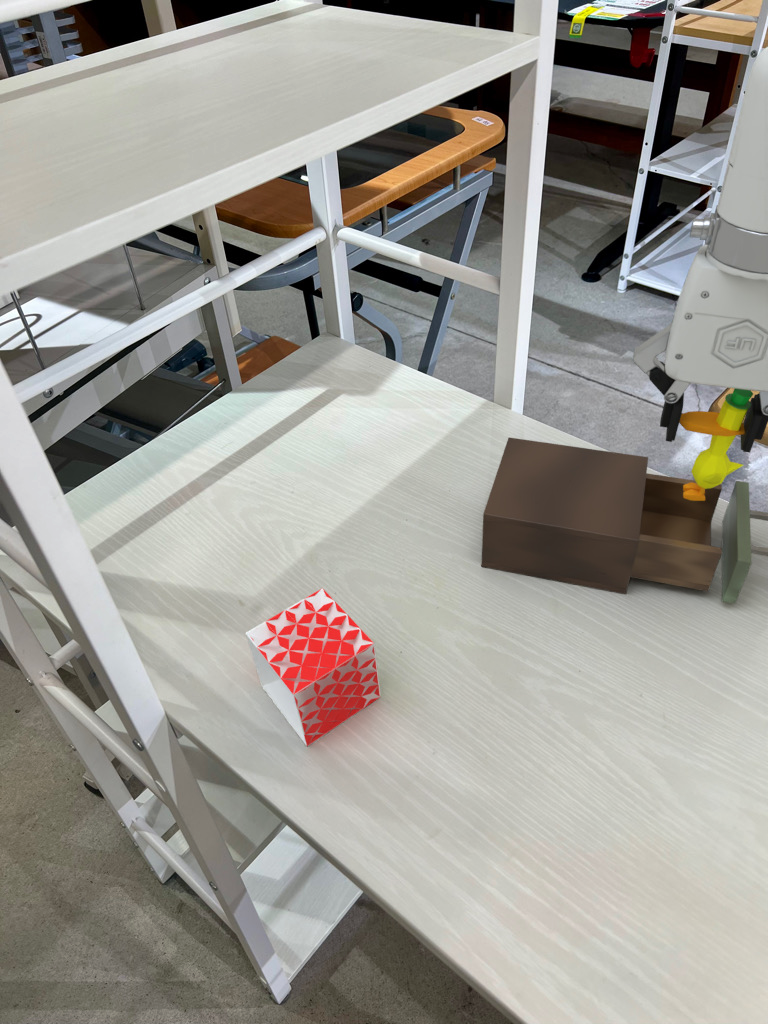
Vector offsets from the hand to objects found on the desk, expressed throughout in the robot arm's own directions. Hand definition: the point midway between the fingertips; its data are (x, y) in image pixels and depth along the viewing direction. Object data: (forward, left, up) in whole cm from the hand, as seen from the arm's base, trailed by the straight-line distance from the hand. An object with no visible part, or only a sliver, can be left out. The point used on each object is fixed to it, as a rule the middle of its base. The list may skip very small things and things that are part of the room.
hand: (707, 436), depth 66 cm
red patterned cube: (+29, +25, -16) cm, 42 cm away
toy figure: (0, 0, -7) cm, 7 cm away
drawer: (-2, 0, -15) cm, 15 cm away
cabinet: (+11, 0, -16) cm, 19 cm away
